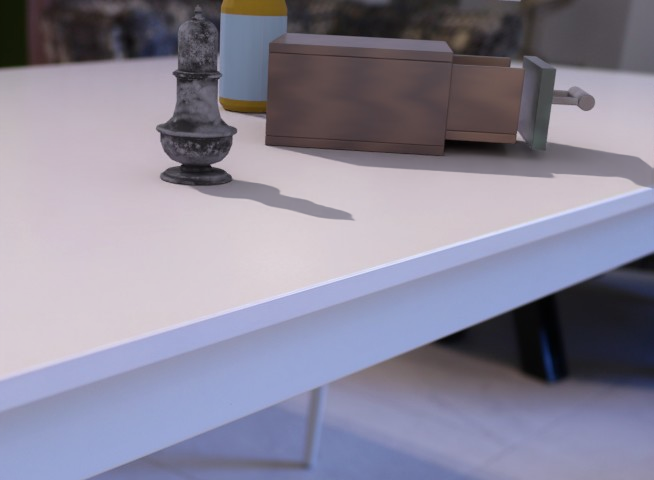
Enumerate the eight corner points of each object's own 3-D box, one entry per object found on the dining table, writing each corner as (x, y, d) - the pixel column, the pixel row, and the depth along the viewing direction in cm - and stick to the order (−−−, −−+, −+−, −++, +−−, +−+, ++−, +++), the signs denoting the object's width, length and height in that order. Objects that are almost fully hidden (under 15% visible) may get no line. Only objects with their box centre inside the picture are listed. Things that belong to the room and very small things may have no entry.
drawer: (570, 130, 103) (580, 58, 100) (594, 153, 90) (607, 71, 88) (379, 119, 104) (384, 48, 102) (377, 140, 92) (383, 59, 89)
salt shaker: (230, 170, 80) (235, 4, 76) (241, 186, 75) (246, 8, 71) (153, 169, 79) (153, 1, 75) (158, 185, 74) (158, 4, 70)
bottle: (232, 113, 110) (237, -41, 105) (209, 104, 116) (212, -42, 110) (293, 112, 113) (300, -38, 107) (267, 104, 119) (273, -39, 113)
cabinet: (436, 131, 105) (445, 41, 102) (443, 155, 91) (453, 52, 88) (281, 122, 106) (285, 32, 103) (265, 144, 92) (268, 42, 89)
